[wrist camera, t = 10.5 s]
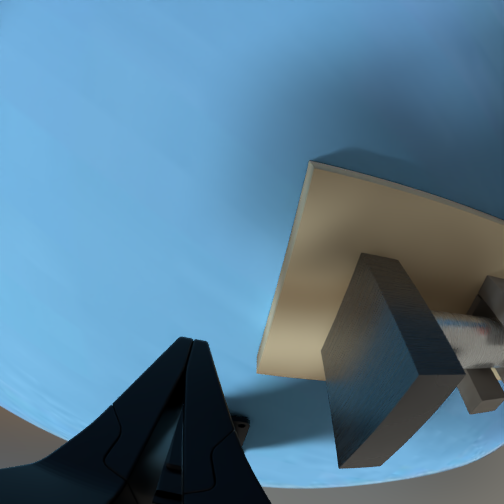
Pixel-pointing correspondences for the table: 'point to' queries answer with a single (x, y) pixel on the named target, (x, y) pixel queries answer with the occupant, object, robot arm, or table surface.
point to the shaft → (395, 360)
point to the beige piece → (386, 245)
